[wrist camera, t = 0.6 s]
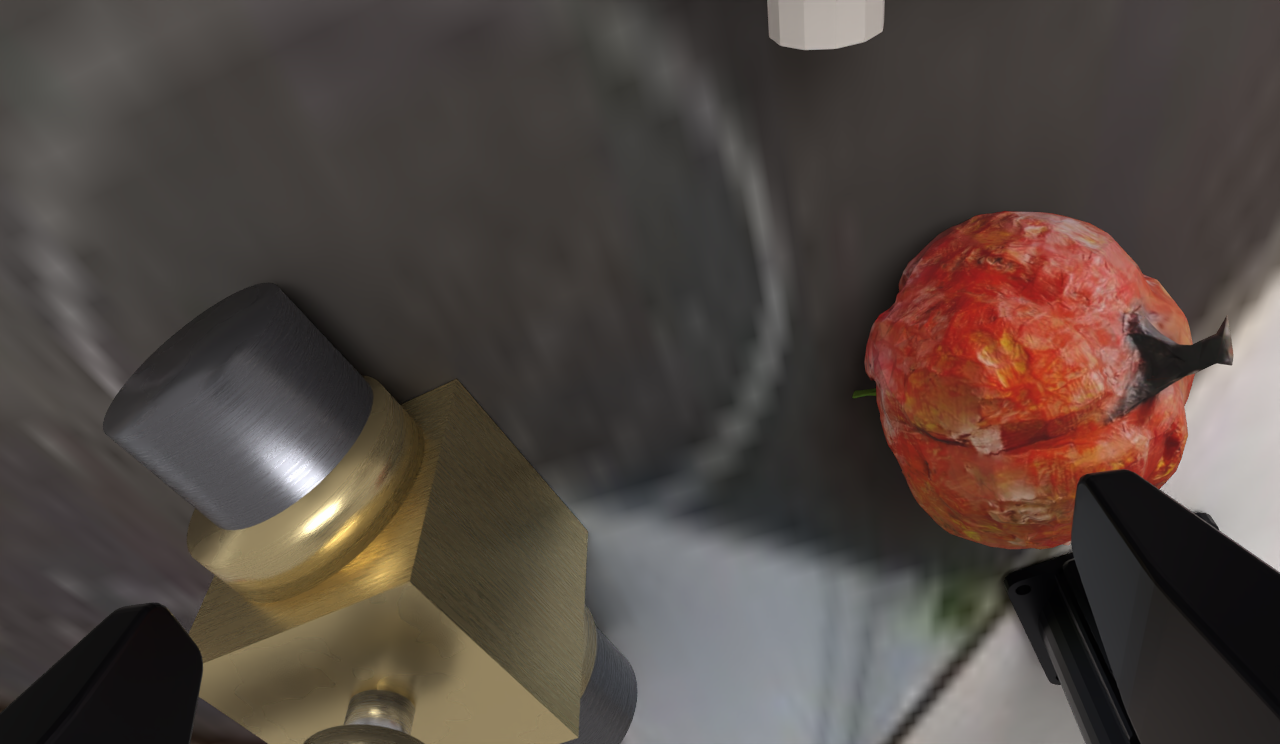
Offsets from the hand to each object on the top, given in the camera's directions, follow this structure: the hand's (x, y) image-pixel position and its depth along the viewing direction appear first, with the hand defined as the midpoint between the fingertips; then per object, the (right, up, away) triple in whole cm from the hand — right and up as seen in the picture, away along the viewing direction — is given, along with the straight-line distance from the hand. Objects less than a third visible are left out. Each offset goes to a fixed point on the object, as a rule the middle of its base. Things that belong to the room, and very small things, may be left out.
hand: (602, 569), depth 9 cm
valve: (-6, -2, +19) cm, 20 cm away
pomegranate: (+9, +4, +15) cm, 18 cm away
